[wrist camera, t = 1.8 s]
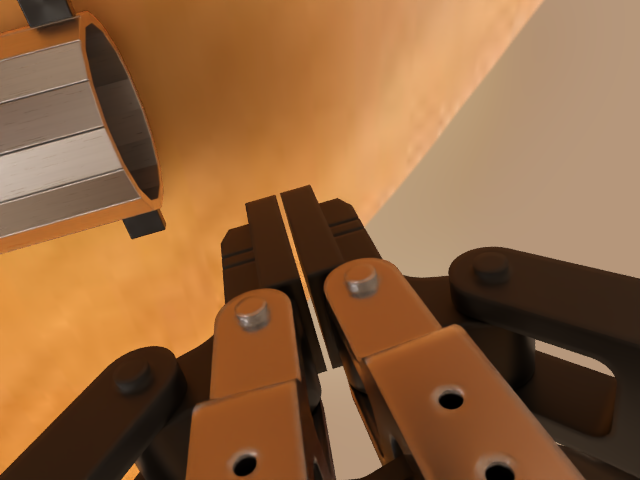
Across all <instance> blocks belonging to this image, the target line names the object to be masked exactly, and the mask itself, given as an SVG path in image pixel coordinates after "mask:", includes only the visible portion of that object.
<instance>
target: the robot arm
mask: <svg viewBox="0 0 640 480" xmlns="http://www.w3.org/2000/svg"><path fill="white" fill-rule="evenodd" d="M280 195H281V198H282V202H283V206H284V209H285V213H286V216H287V219H288V223H289V226H290V230H291V233H292V237H293V240H294V244H295V247H296V251H297V254H298V258H299V261H300V265H301V268H302V271H303V274H304V278H305V281H306V284H307V287H308V291H309V294H310V297H311V300H312V303H313V307H314V309H315V313H316V316H317V319H318V323H319V326H320V329H321V332H322V335H323V339H324V342H325V345H326V348H327V351H328V355H329V358H330V361H331V364H332V368H333V369H334V368H337V367H340V366H343V367H344V370H345V373H346V376H347V379H348V382H349V387H350V390H351V394H352V397H353V400H354V402H355V405H356V407H357V409H358V412H359V414H360V416H361V418H362V420H363V423H364V425H365V427H366V429H367V432H368V434H369V437H370V439H371V441H372V444H373V446H374V448H375V450H376V453H377V455H378V457H379V460H380V462H381V464H382V467H381V468H379V469H377V470H376V471H374V472H373V473H371V474H369V475H367V476H365V477H363V478H360V479H351V480H640V279H639V278H635V277H630V276H626V275H621V274H617V273H613V272H608V271H604V270H600V269H596V268H591V267H587V266H583V265H578V264H574V263H569V262H565V261H561V260H556V259H552V258H548V257H543V256H539V255H535V254H530V253H526V252H521V251H517V250H513V249H509V248H503V247H483V248H477V249H473V250H470V251H467V252H465V253H463V254H461V255H460V256H458V257H457V258H456V259H455V260H454V261H453V262H452V263H451V265H450V267H449V272H448V274H449V276H441V277H428V278H417V277H409V276H405V275H402V273H401V272H400V271H399V269H398V268H397V267H396V266H395V265H394V264H392V263H390V262H388V261H386V260H383V259H382V257H381V256H380V254H379V252H378V251H377V249H376V247H375V245H374V243H373V242H372V240H371V238H370V236H369V235H368V233H367V231H366V229H365V228H364V226H363V224H362V222H361V221H360V219H359V218H358V215H357V214H356V212H355V210H354V208H353V207H352V205H350V204H348V203H346V202H344V201H342V200H340V199H338V198H336V199H333V200H330V201H326V202H323V203H318V201H317V199H316V197H315V195H314V192H313V190H312V188H311V186H310V185H307V186H304V187H300V188H297V189H293V190H290V191H286V192H283V193H280ZM245 206H246V211H247V217H248V223H249V224H247V225H244V226H240V227H237V228H233V229H230V230H228V232H227V234H226V236H225V237H224V239H223V241H222V242H221V253H222V267H223V281H224V295H225V305H224V306H223V307H222V308H221V310H220V311H219V312H218V314H217V316H216V319H215V324H214V335H213V336H212V337H211V338H209V339H208V340H207V341H206V342H204V343H203V344H201V345H200V346H198V347H196V348H195V349H193V350H191V351H189V352H187V353H186V354H184V355H182V356H180V357H178V358H177V359H176V358H175V356H174V354H173V353H172V352H171V351H170V350H168V349H167V348H164V347H158V346H150V347H144V348H140V349H136V350H134V351H131V352H129V353H127V354H125V355H123V356H121V357H120V358H118V359H117V360H115V361H114V362H113V363H111V364H110V365H109V366H108V367H107V368H106V369H105V370H104V371H103V372H102V373H101V374H100V375H99V376H98V377H97V378H96V379H95V380H94V381H93V382H92V383H91V384H90V385H89V386H88V387H87V388H86V389H85V390H84V391H83V392H82V393H81V394H80V395H79V396H78V397H77V398H76V399H75V400H74V401H73V402H72V403H71V404H70V405H69V406H68V407H67V408H66V409H65V410H64V411H63V412H62V413H61V414H60V415H59V416H58V417H57V418H56V419H55V420H54V421H53V422H52V423H51V424H50V425H49V426H48V427H47V429H46V430H45V431H44V432H43V433H42V434H41V435H40V436H39V437H38V438H37V439H36V440H35V441H34V442H33V443H32V444H31V445H30V446H29V447H28V448H27V449H26V450H25V451H24V452H23V453H22V454H21V455H20V456H19V457H18V458H17V459H16V460H15V461H14V462H13V463H12V464H11V465H10V466H9V467H8V468H7V469H6V470H5V471H4V472H3V473H2V474H1V475H0V480H121V479H122V478H123V477H124V475H125V474H126V473H127V472H128V470H129V469H130V468H131V467H132V465H133V464H134V463H135V464H136V466H137V468H138V469H139V471H140V472H139V474H138V475H137V476H136V477H135V479H134V480H336V476H335V470H334V465H333V459H332V453H331V447H330V441H329V435H328V430H327V424H326V418H325V412H324V407H323V404H322V400H321V385H320V382H319V378H318V373H322V372H325V371H327V369H326V365H325V362H324V358H323V355H322V352H321V348H320V345H319V342H318V338H317V334H316V331H315V328H314V324H313V321H312V318H311V314H310V310H309V307H308V304H307V300H306V297H305V293H304V290H303V286H302V283H301V280H300V276H299V273H298V270H297V266H296V263H295V259H294V256H293V253H292V249H291V246H290V243H289V239H288V236H287V233H286V229H285V226H284V223H283V219H282V216H281V212H280V209H279V206H278V202H277V199H276V196H275V195H273V196H269V197H266V198H262V199H259V200H255V201H252V202H248V203H245ZM535 339H536V340H539V341H542V342H545V343H548V344H552V345H555V346H557V347H561V348H563V349H566V350H570V351H572V352H575V353H579V354H582V355H585V356H588V357H591V358H593V359H596V360H598V361H600V362H601V363H603V364H604V365H606V366H607V367H608V368H609V369H610V370H611V371H612V373H613V374H614V376H615V377H612V376H609V375H606V374H603V373H601V372H598V371H595V370H591V369H589V368H586V367H583V366H580V365H577V364H574V363H571V362H569V361H566V360H563V359H560V358H557V357H554V356H551V355H548V354H545V353H542V352H540V351H537V350H535ZM556 442H557V443H559V444H561V445H558V444H556ZM562 445H564V446H562Z"/></svg>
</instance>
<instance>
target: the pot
mask: <svg viewBox="0 0 640 480" xmlns="http://www.w3.org/2000/svg"><path fill="white" fill-rule="evenodd" d="M17 1H18V3H19V5H20V7H21V9H22V11H23V13H24V15H25V18H26V20H27V22H28V24H29V26H26V27H22V28H18V29H14V30H11V31H7V32H3V33H0V254H3V253H6V252H10V251H13V250H17V249H20V248H24V247H27V246H31V245H34V244H38V243H41V242H45V241H48V240H52V239H55V238H59V237H62V236H66V235H69V234H73V233H76V232H80V231H83V230H87V229H90V228H94V227H97V226H101V225H104V224H108V223H112V222H115V221H119V220H123V222H124V224H125V226H126V229H127V231H128V233H129V235H130V237H131V239H135V238H138V237H141V236H145V235H148V234H152V233H155V232H159V231H162V230H165V227H166V222H165V220H164V218H163V215H162V213H161V211H160V208H161V207H162V200H163V183H162V175H161V169H160V163H159V159H158V155H157V151H156V147H155V143H154V140H153V136H152V132H151V129H150V126H149V123H148V120H147V117H146V114H145V111H144V108H143V105H142V103H141V100H140V98H139V95H138V93H137V90H136V88H135V85H134V83H133V80H132V78H131V76H130V73H129V71H128V69H127V67H126V65H125V63H124V61H123V59H122V57H121V55H120V53H119V51H118V49H117V47H116V46H115V44H114V42H113V40H112V39H111V37H110V36H109V34H108V33H107V31H106V30H105V28H104V26H103V25H102V23H101V22H100V21H99V20H98V19H96V18H95V17H94V16H93V15H92V14H91V13H90V12H89V11H84V12H80V13H75V11H74V9H73V6H72V4H71V2H70V0H17Z"/></svg>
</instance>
